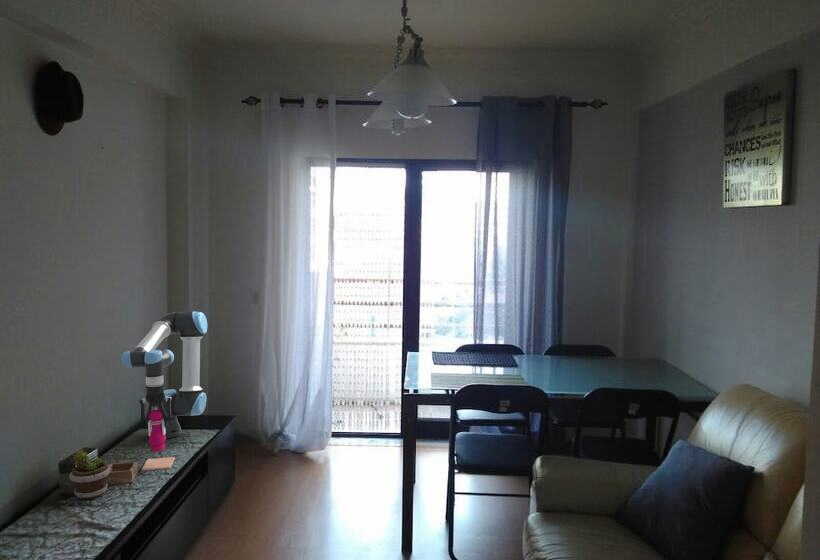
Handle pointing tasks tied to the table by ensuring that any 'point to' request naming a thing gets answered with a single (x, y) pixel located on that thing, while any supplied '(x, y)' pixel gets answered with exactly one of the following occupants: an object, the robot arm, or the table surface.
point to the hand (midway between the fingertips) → (157, 434)
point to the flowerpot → (89, 476)
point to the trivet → (158, 463)
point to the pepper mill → (156, 431)
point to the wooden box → (122, 472)
